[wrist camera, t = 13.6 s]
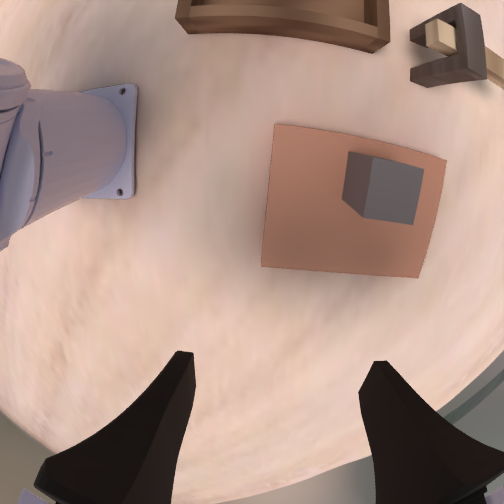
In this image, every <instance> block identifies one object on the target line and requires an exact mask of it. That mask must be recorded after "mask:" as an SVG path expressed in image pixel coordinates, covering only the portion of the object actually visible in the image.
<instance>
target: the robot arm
mask: <svg viewBox="0 0 504 504" xmlns="http://www.w3.org/2000/svg"><path fill="white" fill-rule="evenodd" d="M30 88H31V85H30V82H29V80H28V79H27V77H26V74H25V71H24V69H23V68H22V67H21V66H19V65H17V64H15V63H13V62H11V61H8V60H5V59H2V58H0V251H1V250H3V249H4V248H6V247H8V244H9V240H10V237H11V236H12V235H13V234H14V233H15V232H17V231H18V230H20V229H22V228H23V227H25V226H27V225H29V224H31V223H33V222H34V221H36V220H38V219H40V218H42V217H44V216H46V215H48V214H50V213H52V212H54V211H56V210H58V209H60V208H62V207H64V206H66V205H68V204H70V203H72V202H74V201H76V200H78V199H81V198H89V199H130V198H131V197H133V195H134V146H135V121H136V105H137V93H138V88H137V86H136V85H134V84H123V85H116V86H109V87H103V88H98V89H92V90H87V91H82V92H78V93H74V92H65V91H54V90H39V89H30ZM123 89H126V92H125V93H124V94H123V95H122V90H123ZM119 189H122V190H123V195H122V194H120V192H119ZM195 389H196V379H195V367H194V354H193V353H191V352H184V351H177V352H175V354H174V355H173V357H172V358H171V359H170V361H169V362H168V363H167V365H166V366H165V367H164V369H163V370H162V371H161V372H160V374H159V375H158V376H157V377H156V378H155V380H154V381H153V382H152V383H151V384H150V385H149V387H148V388H147V389H146V390H145V391H144V392H143V393H142V394H141V395H140V396H139V397H138V398H137V399H136V400H135V401H134V402H133V403H132V404H131V405H130V406H129V407H128V408H127V409H126V410H125V411H124V412H123V413H121V414H120V415H119V416H118V417H117V418H115V419H114V420H113V421H112V422H110V423H109V424H108V425H106V426H105V427H104V428H102V429H101V430H100V431H98V432H97V433H95V434H94V435H92V436H90V437H89V438H87V439H85V440H84V441H82V442H80V443H78V444H77V445H75V446H73V447H71V448H69V449H67V450H65V451H62V452H60V453H58V454H56V455H53V456H51V457H49V458H47V459H45V461H44V463H43V465H42V466H41V468H40V470H39V473H38V475H37V477H36V480H35V483H34V487H35V488H36V489H38V490H39V491H41V492H42V493H44V494H45V495H47V496H48V497H50V498H51V499H53V500H55V501H56V504H171V497H172V490H173V483H174V476H175V470H176V464H177V459H178V455H179V451H180V447H181V444H182V441H183V437H184V434H185V431H186V427H187V424H188V421H189V417H190V414H191V410H192V406H193V401H194V395H195ZM358 393H359V401H360V409H361V414H362V418H363V422H364V426H365V430H366V433H367V437H368V441H369V445H370V449H371V453H372V457H373V462H374V472H375V485H376V504H504V485H503V486H502V487H500V488H499V489H497V490H496V491H494V492H493V493H491V494H490V495H488V496H487V497H484V493H485V492H487V488H486V485H488V484H489V483H490V482H492V481H493V480H495V479H496V478H497V477H499V476H500V475H501V474H502V473H504V452H502V451H500V450H497V449H495V448H492V447H489V446H487V445H485V444H483V443H481V442H479V441H477V440H475V439H473V438H471V437H470V436H468V435H466V434H465V433H463V432H462V431H460V430H459V429H457V428H455V427H454V426H453V425H452V424H450V423H449V422H448V421H446V420H445V419H444V418H443V417H441V416H440V415H439V414H438V413H437V412H436V411H435V410H434V409H433V408H431V407H430V406H429V405H428V404H427V403H426V402H425V401H424V400H423V399H422V398H421V397H420V396H419V395H418V394H417V393H416V392H415V391H414V389H413V388H412V387H411V386H410V385H409V384H408V383H407V382H406V381H405V380H404V379H403V377H402V376H401V375H400V374H399V373H398V372H397V371H396V370H395V369H394V368H393V367H392V366H391V365H390V363H389V362H388V361H374V362H373V364H372V367H371V369H370V371H369V373H368V375H367V377H366V379H365V381H364V382H363V384H362V386H361V388H360V390H359V392H358ZM17 504H50V503H48V502H46V501H45V500H43V499H41V498H40V497H38V496H36V495H35V494H33V493H32V492H30V491H28V490H27V489H25V488H24V489H23V491H22V493H21V496H20V498H19V501H18V503H17Z"/></svg>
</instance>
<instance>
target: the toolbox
mask: <svg viewBox="0 0 504 504" xmlns="http://www.w3.org/2000/svg"><path fill="white" fill-rule="evenodd" d="M175 19H176V20H177V21H178V22H179V24H180V25H181V26H182V27H183V29H184V30H185V31H186V32H187V33H188V34H198V33H249V34H265V35H277V36H286V37H294V38H301V39H308V40H314V41H320V42H325V43H330V44H335V45H340V46H344V47H349V48H353V49H357V50H361V51H364V52H368V53H374V52H375V51H377V50H379V49H380V48H382V47H383V46H385V45H386V44H388V43H390V16H389V0H178V5H177V10H176V16H175ZM435 19H439V20H441V21H443V22H445V23H447V24H449V25H451V26H453V27H454V28H456V30H457V39H458V52H459V54H456V55H452V56H449V57H445V58H442V59H439V60H435V61H432V62H429V63H426V64H423V65H420V66H417V67H414V68H411V71H410V81H411V82H414V83H417V84H419V85H422V86H424V87H427V88H428V87H434V86H439V85H445V84H452V83H458V82H466V81H474V80H483V79H487V66H486V54H485V44H484V37H483V30H482V24H481V18H480V15H479V14H478V13H476V12H475V11H473V10H472V9H470V8H468V7H467V6H465V5H464V4H462V3H459V4H457V5H455V6H453V7H451V8H449V9H447V10H445V11H443V12H441V13H439V14H437V15H435V16H434V17H432V18H430V19H428V20H426V21H424V22H423V23H421V24H419V25H417V26H416V27H414V28H412V29H410V41H412V42H415V43H417V44H420V45H422V46H424V47H427V46H426V31H425V24H427V23H429V22H431V21H433V20H435ZM427 48H428V47H427Z"/></svg>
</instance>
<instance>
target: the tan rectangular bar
mask: <svg viewBox="0 0 504 504" xmlns="http://www.w3.org/2000/svg"><path fill="white" fill-rule="evenodd" d="M425 31H426V46H427V47H429V48H431V49H434V50H436V51H438V52H440V53H442V54H444V55H446V56H448V57H449V56H452V55H456V54H459V52H458V39H457V30H456V28H454V27H453V26H451V25H449V24H447V23H445V22H443V21H441V20H439V19H435V20H433V21H431V22H429V23H427V24H425ZM485 54H486V66H487V79H489V80H490V81H492V82H493V83H495V84H496V85H498V86H499V87H501V88H502V89H504V59H503V58H501V57H500V56H498V55H497V54H496V53H494V52H493V51H491V50H490V49H489V48H487V47H486V46H485Z"/></svg>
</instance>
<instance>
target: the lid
mask: <svg viewBox="0 0 504 504" xmlns="http://www.w3.org/2000/svg"><path fill="white" fill-rule="evenodd" d="M446 162H447V160H444V159H441V158H438V157H435V156H431V155H428V154H425V153H421V152H418V151H415V150H411V149H407V148H404V147H400V146H396V145H392V144H388V143H384V142H380V141H376V140H371V139H367V138H362V137H357V136H352V135H347V134H342V133H336V132H330V131H324V130H318V129H311V128H304V127H297V126H289V125H280V124H275V125H274V135H273V146H272V156H271V167H270V177H269V188H268V198H267V208H266V218H265V228H264V238H263V247H262V257H261V266H263V267H274V268H286V269H299V270H311V271H324V272H337V273H350V274H363V275H377V276H392V277H407V278H418V277H419V274H420V271H421V268H422V265H423V262H424V259H425V255H426V252H427V249H428V245H429V242H430V238H431V234H432V231H433V227H434V223H435V219H436V215H437V210H438V206H439V201H440V196H441V191H442V186H443V181H444V175H445V169H446Z"/></svg>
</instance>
